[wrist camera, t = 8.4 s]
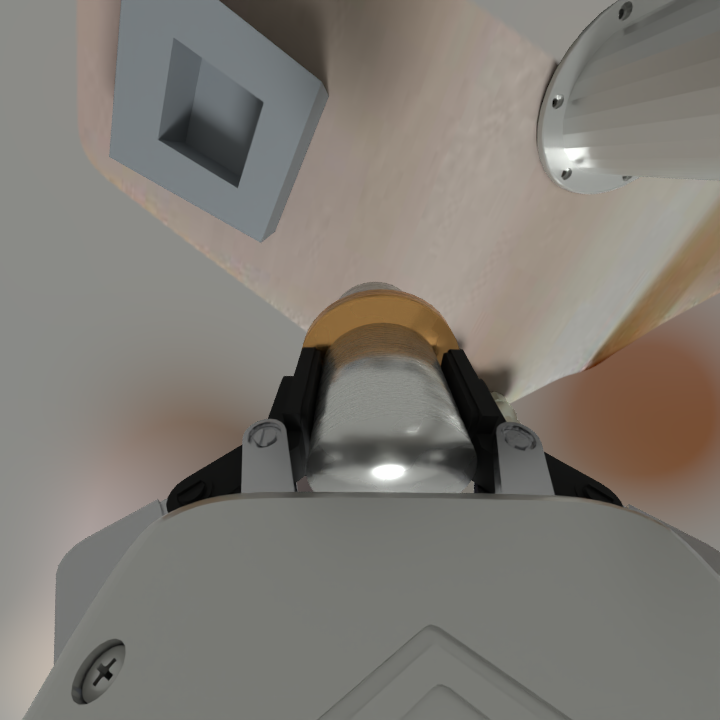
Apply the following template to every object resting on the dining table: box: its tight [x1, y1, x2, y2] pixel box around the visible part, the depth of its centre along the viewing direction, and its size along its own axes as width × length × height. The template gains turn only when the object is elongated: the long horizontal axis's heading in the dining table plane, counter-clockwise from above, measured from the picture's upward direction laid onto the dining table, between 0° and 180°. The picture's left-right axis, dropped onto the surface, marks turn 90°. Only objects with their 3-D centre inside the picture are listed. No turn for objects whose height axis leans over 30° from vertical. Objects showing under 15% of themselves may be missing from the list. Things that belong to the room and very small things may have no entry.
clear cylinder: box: [302, 282, 477, 493], centre depth 13 cm, size 7×7×10 cm
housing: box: [109, 0, 329, 243], centre depth 22 cm, size 12×12×5 cm
